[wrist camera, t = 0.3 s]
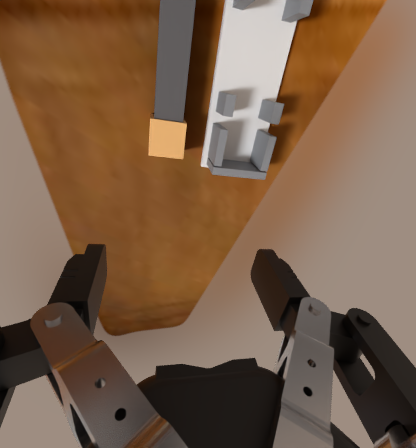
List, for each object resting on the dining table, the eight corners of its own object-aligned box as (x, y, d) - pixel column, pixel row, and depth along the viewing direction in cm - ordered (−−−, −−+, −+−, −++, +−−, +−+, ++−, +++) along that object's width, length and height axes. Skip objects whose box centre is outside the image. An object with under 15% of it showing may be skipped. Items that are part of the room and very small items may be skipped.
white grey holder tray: (233, -56, 27) (249, -83, 22) (307, -31, 29) (337, -52, 24) (200, 165, 38) (206, 177, 33) (255, 170, 40) (268, 183, 36)
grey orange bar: (158, -51, 26) (158, -73, 22) (200, -39, 27) (207, -57, 23) (149, 146, 36) (148, 155, 32) (180, 150, 37) (182, 159, 33)
